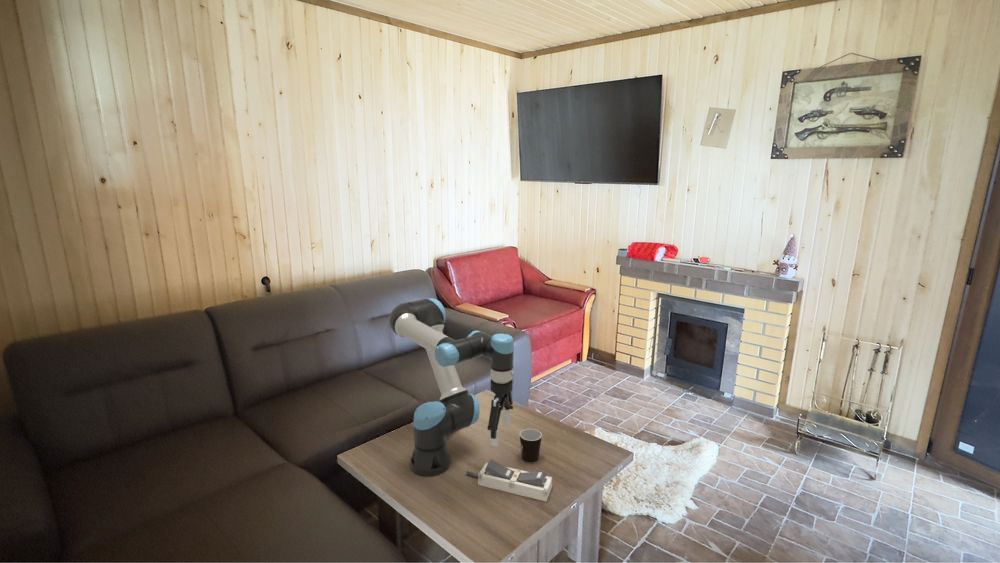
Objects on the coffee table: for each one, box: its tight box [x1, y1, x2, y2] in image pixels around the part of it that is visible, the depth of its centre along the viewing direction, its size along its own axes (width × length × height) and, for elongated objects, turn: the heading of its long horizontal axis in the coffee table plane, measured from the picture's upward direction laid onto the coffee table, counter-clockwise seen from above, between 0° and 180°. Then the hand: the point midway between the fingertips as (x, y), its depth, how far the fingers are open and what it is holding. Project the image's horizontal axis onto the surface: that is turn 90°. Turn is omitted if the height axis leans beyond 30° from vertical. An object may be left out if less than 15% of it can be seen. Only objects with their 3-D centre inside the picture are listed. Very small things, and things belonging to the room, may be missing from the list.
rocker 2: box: [517, 470, 547, 485], centre depth 164 cm, size 9×5×2 cm, turn 70°
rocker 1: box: [485, 459, 513, 480], centre depth 168 cm, size 9×5×2 cm, turn 70°
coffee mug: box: [519, 428, 543, 463], centre depth 184 cm, size 12×9×10 cm
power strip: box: [465, 461, 553, 503], centre depth 167 cm, size 31×8×5 cm, turn 70°
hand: (500, 435), depth 165 cm, fingers open, 13 cm apart
